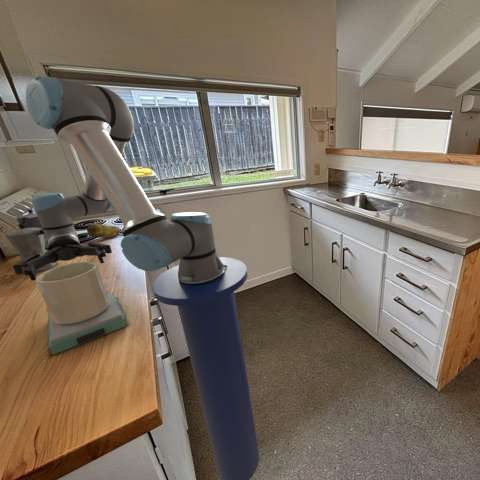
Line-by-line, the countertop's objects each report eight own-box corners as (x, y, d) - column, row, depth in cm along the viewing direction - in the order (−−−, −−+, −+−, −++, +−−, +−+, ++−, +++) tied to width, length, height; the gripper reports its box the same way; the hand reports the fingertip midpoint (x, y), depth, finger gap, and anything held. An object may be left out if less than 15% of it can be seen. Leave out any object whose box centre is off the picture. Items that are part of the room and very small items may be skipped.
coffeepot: (9, 274, 95) (-14, 228, 89) (34, 263, 104) (15, 220, 98) (53, 272, 96) (33, 226, 90) (73, 261, 105) (57, 219, 99)
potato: (123, 236, 134) (118, 222, 131) (91, 243, 126) (85, 227, 123) (120, 233, 140) (116, 218, 137) (90, 238, 131) (84, 224, 129)
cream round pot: (107, 295, 74) (94, 258, 70) (113, 311, 67) (99, 270, 63) (54, 312, 67) (36, 271, 63) (55, 332, 60) (34, 287, 56)
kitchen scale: (115, 298, 79) (112, 289, 78) (127, 326, 66) (124, 316, 65) (51, 319, 70) (47, 309, 68) (52, 356, 57) (46, 345, 56)
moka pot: (65, 246, 121) (49, 205, 114) (57, 257, 109) (38, 212, 102) (37, 251, 116) (18, 208, 109) (25, 263, 104) (3, 215, 97)
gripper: (115, 246, 92) (128, 264, 78) (11, 270, 75) (3, 297, 61) (109, 226, 89) (121, 241, 75) (-1, 246, 73) (-11, 269, 59)
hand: (68, 266), depth 68 cm, fingers open, 13 cm apart
